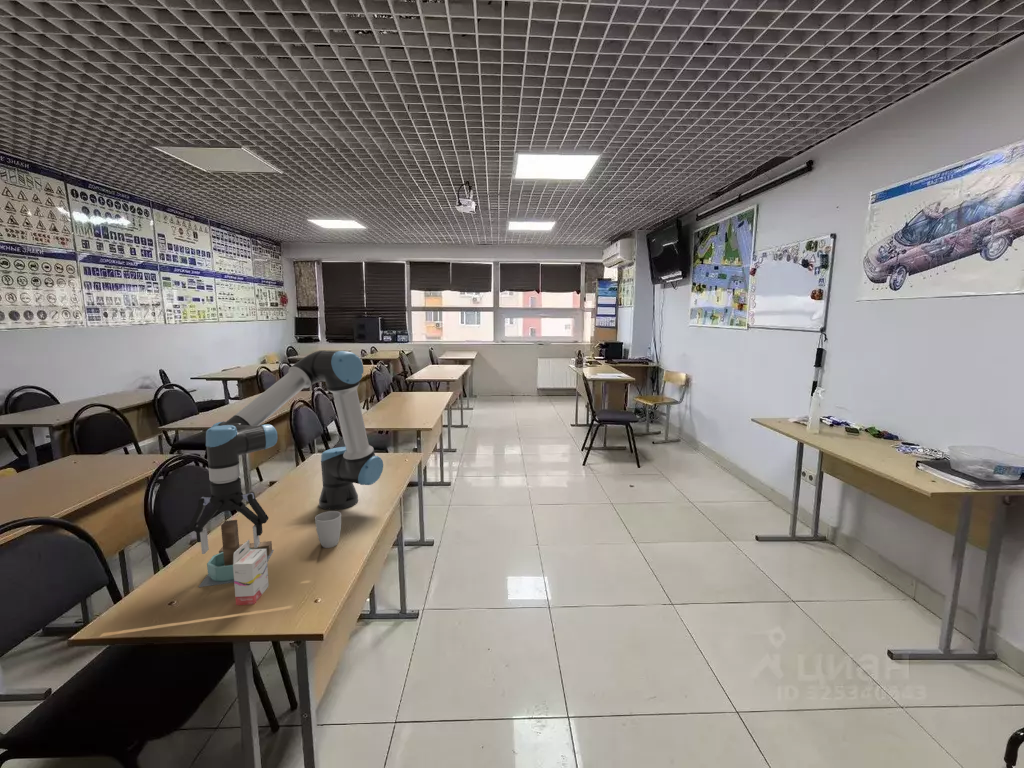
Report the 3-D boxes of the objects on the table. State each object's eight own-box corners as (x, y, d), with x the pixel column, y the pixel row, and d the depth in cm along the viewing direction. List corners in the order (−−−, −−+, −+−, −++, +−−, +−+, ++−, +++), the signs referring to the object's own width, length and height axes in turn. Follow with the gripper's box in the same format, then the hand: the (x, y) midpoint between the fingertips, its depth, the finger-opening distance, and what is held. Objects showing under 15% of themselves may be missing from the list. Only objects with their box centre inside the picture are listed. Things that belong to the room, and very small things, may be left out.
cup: (347, 540, 152) (346, 512, 151) (331, 551, 145) (329, 522, 144) (328, 537, 155) (327, 509, 154) (311, 548, 147) (309, 519, 146)
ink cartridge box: (255, 606, 116) (251, 553, 115) (235, 607, 116) (230, 553, 114) (270, 587, 125) (266, 537, 123) (251, 588, 125) (247, 538, 123)
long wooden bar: (272, 550, 145) (271, 541, 144) (269, 555, 142) (268, 545, 141) (223, 556, 141) (222, 546, 141) (219, 561, 138) (218, 551, 138)
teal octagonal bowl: (259, 558, 139) (258, 545, 139) (248, 578, 128) (247, 564, 128) (218, 563, 137) (217, 550, 136) (203, 584, 126) (202, 569, 125)
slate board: (274, 551, 145) (274, 549, 145) (258, 581, 128) (257, 579, 128) (222, 557, 142) (222, 555, 141) (198, 589, 124) (198, 587, 124)
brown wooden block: (240, 564, 134) (237, 519, 133) (237, 569, 131) (233, 524, 130) (228, 565, 134) (225, 520, 132) (224, 571, 130) (220, 525, 129)
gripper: (276, 471, 136) (281, 537, 139) (181, 478, 130) (188, 548, 132) (269, 479, 129) (274, 549, 131) (169, 487, 122) (176, 560, 125)
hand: (231, 548), depth 132 cm, fingers open, 13 cm apart
